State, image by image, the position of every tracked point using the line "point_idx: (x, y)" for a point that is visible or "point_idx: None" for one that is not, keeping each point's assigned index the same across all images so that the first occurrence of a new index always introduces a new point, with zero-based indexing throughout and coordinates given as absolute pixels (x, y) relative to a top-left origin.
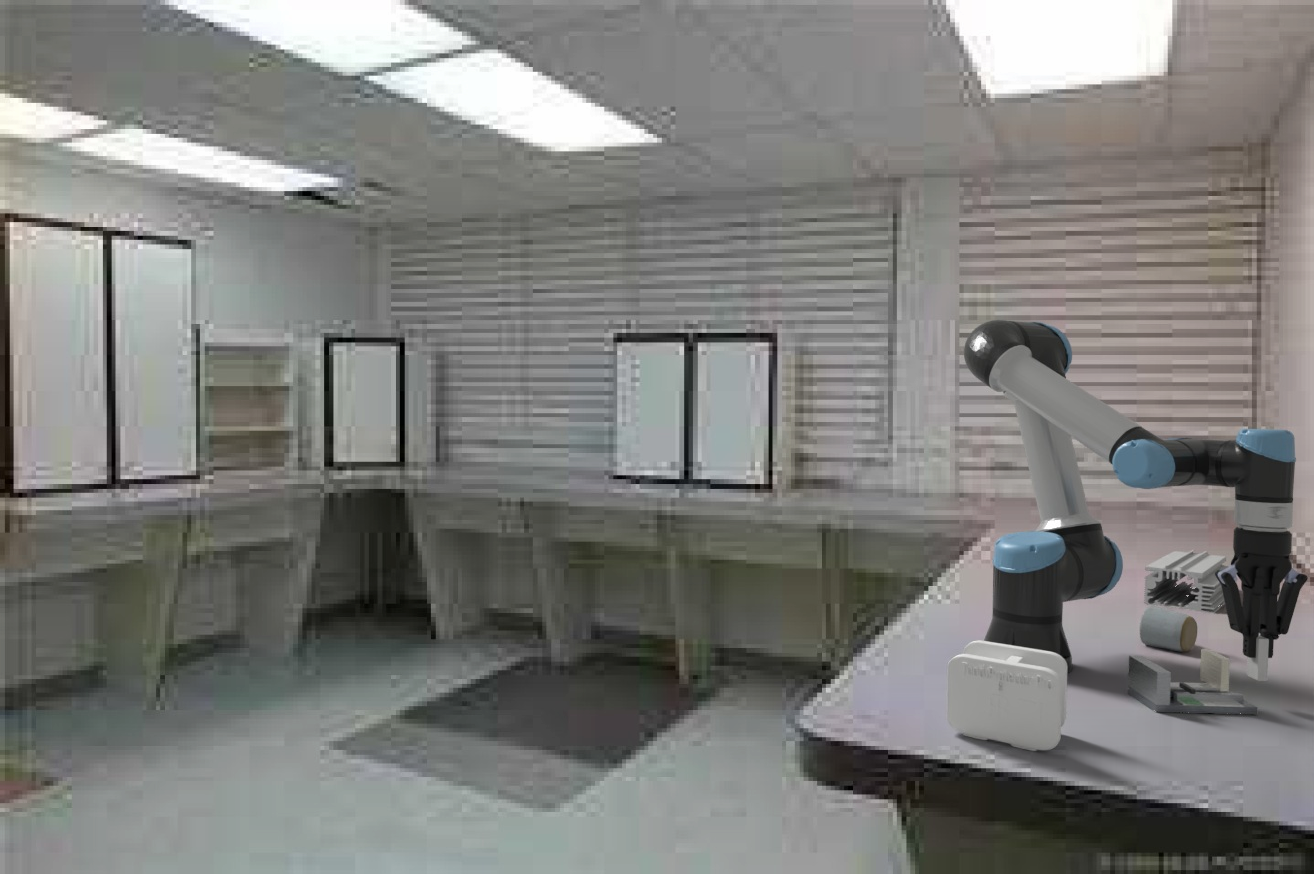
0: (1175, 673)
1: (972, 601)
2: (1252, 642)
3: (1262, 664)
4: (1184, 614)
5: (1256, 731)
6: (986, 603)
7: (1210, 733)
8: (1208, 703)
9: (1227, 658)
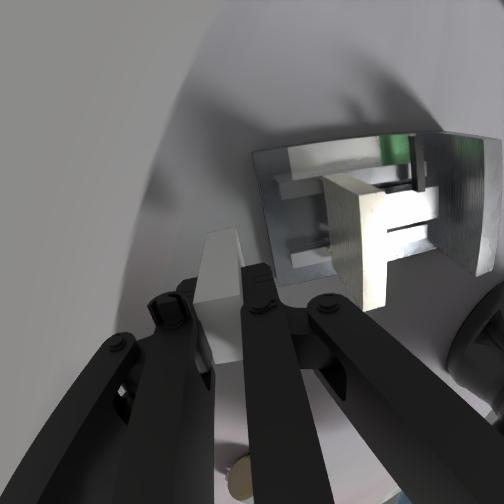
0: (308, 379)
1: (391, 486)
2: (259, 295)
3: (221, 248)
4: (250, 502)
5: (297, 40)
6: (383, 488)
7: (388, 25)
8: (365, 145)
9: (362, 204)
